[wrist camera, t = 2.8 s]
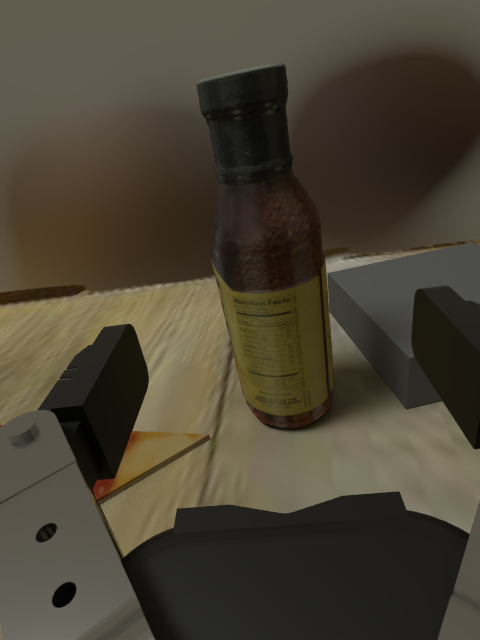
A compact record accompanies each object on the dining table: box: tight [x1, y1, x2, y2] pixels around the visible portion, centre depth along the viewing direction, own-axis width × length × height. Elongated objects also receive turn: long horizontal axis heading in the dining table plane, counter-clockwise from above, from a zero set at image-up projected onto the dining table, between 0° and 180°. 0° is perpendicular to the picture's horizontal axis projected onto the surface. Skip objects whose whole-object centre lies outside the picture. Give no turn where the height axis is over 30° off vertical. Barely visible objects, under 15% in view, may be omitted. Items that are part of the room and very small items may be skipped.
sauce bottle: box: [197, 63, 334, 429], centre depth 22 cm, size 7×6×20 cm
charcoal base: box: [328, 242, 480, 409], centre depth 31 cm, size 14×14×4 cm
